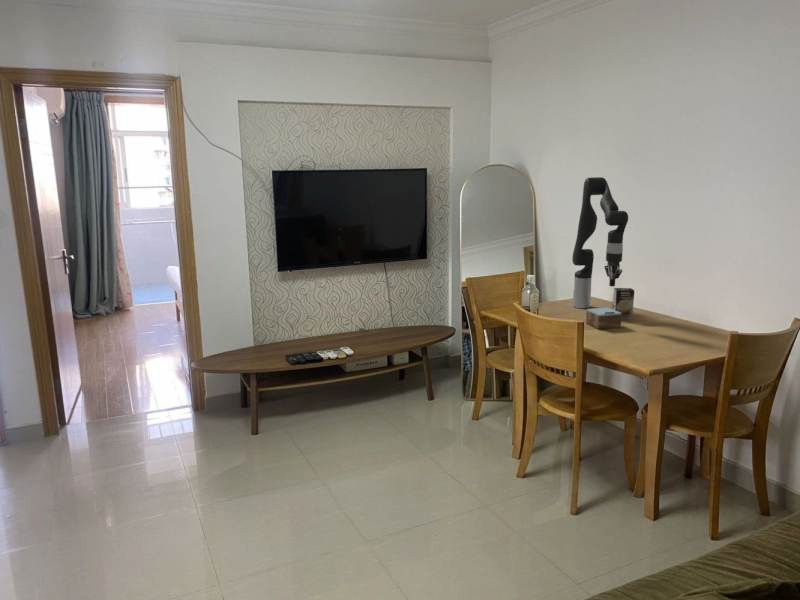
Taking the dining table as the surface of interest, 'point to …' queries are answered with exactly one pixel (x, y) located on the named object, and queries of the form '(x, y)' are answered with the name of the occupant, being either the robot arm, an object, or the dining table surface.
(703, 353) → the dining table surface
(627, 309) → the coffee box
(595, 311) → the lid
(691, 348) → the dining table surface
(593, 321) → the box
